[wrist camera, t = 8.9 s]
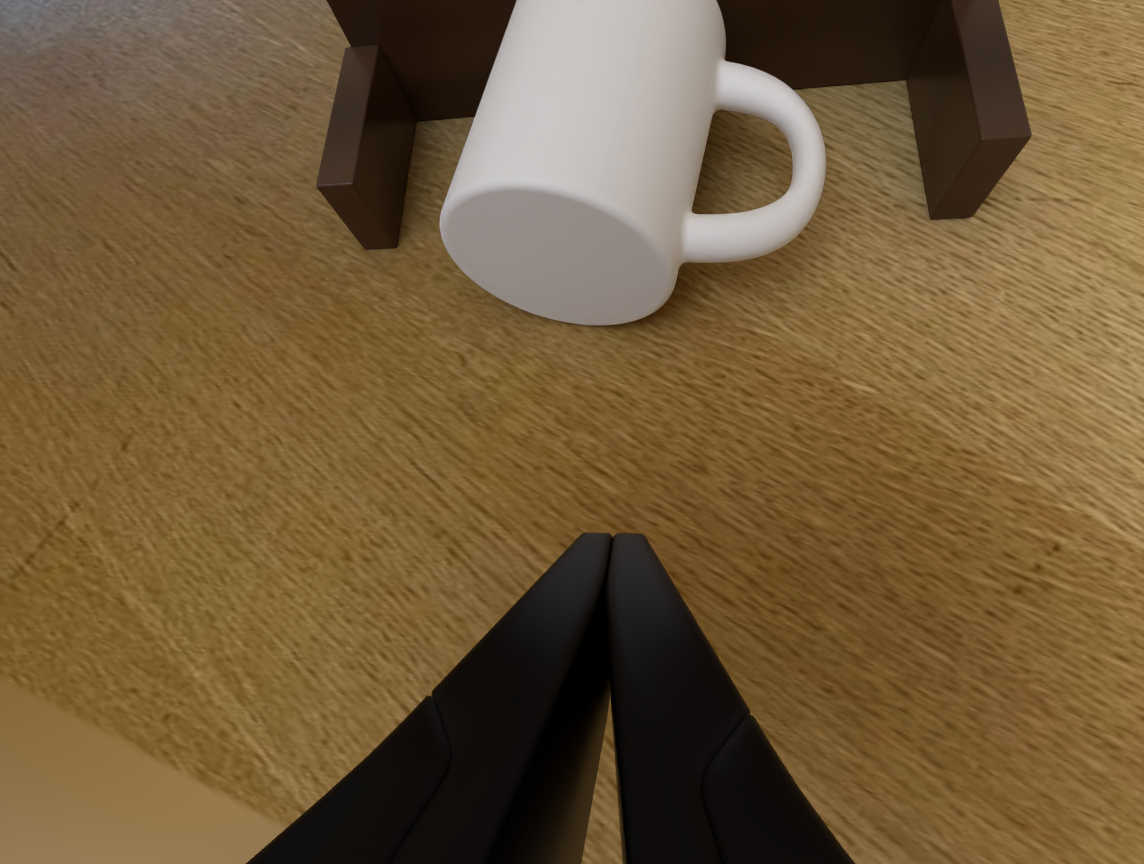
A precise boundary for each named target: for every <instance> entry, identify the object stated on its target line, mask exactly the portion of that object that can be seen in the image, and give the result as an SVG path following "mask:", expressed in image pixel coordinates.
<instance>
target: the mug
mask: <svg viewBox="0 0 1144 864" xmlns="http://www.w3.org/2000/svg"><path fill="white" fill-rule="evenodd" d="M725 52H726V35H725V27H724V21H723V18H722V14H721V11H720V8H719V6H718V3H717V1H716V0H517V1H516V4H515V7H514V9H513V12H512V15H511V18H510V20H509V23H508V26H507V29H506V32H505V34H504V37H503V40H502V43H501V46H500V48H499V51H498V54H497V57H496V60H495V62H494V65H493V68H492V71H491V73H490V76H489V79H488V82H487V85H486V87H485V90H484V93H483V96H482V99H481V101H480V104H479V107H478V110H477V113H476V115H475V118H474V121H473V124H472V126H471V129H470V132H469V135H468V138H467V140H466V143H465V146H464V149H463V152H462V154H461V157H460V160H459V163H458V166H457V168H456V171H455V174H454V177H453V179H452V182H451V185H450V188H449V191H448V193H447V196H446V199H445V202H444V205H443V207H442V211H441V214H440V232H441V237H442V240H443V243H444V245H445V247H446V250H447V251H448V253H449V255H450V256H451V258H452V259H453V260H454V262H455V263H456V264H457V266H458V267H459V268H460V269H461V270H462V271H463V272H464V273H465V274H466V275H467V276H468V277H469V278H470V279H471V280H473V281H474V282H475V283H476V284H478V285H479V286H480V287H482V288H483V289H484V290H486V291H487V292H489V293H491V294H492V295H494V296H495V297H497V298H499V299H501V300H503V301H505V302H506V303H508V304H511V305H513V306H515V307H517V308H519V309H522V310H524V311H527V312H530V313H532V314H535V315H538V316H541V317H545V318H548V319H552V320H557V321H561V322H566V323H573V324H581V325H599V326H602V325H616V324H623V323H628V322H632V321H635V320H639V319H641V318H644V317H646V316H648V315H650V314H652V313H653V312H655V311H656V310H658V309H659V308H660V307H661V306H663V305H664V304H665V302H666V301H667V300H668V299H669V297H670V296H671V294H672V292H673V290H674V287H675V283H676V279H677V275H678V270H679V267H680V266H681V265H682V264H683V263H686V262H694V263H722V262H735V261H742V260H748V259H753V258H756V257H760V256H763V255H766V254H769V253H771V252H773V251H776V250H777V249H779V248H781V247H783V246H784V245H786V244H787V243H789V242H790V241H792V240H793V239H794V238H795V237H796V236H797V235H798V234H799V233H800V232H801V231H802V230H803V229H804V228H805V226H806V225H807V224H808V222H809V221H810V219H811V218H812V216H813V214H814V212H815V210H816V208H817V206H818V203H819V200H820V197H821V194H822V191H823V186H824V181H825V173H826V154H825V146H824V141H823V137H822V133H821V131H820V128H819V125H818V123H817V121H816V119H815V117H814V115H813V114H812V112H811V110H810V109H809V107H808V106H807V105H806V103H805V102H804V101H803V100H802V99H801V97H800V96H799V95H798V94H797V93H796V92H795V91H794V90H793V89H791V88H790V87H789V86H788V85H786V84H785V83H784V82H782V81H781V80H779V79H777V78H776V77H774V76H772V75H770V74H768V73H766V72H763V71H761V70H758V69H755V68H753V67H749V66H746V65H742V64H738V63H732V62H727V61H725ZM717 110H727V111H734V112H739V113H744V114H748V115H752V116H756V117H759V118H761V119H764V120H766V121H768V122H770V123H772V124H773V125H775V126H776V127H777V128H778V129H779V130H780V131H781V132H782V133H783V134H784V136H785V137H786V139H787V141H788V143H789V146H790V149H791V153H792V161H793V174H792V181H791V185H790V188H789V190H788V191H787V192H786V194H785V195H784V196H782V197H781V198H780V199H778V200H777V201H775V202H773V203H771V204H769V205H767V206H764V207H761V208H758V209H755V210H750V211H745V212H739V213H729V214H695V213H693V212H692V206H693V202H694V197H695V193H696V188H697V183H698V179H699V174H700V170H701V165H702V161H703V156H704V152H705V147H706V142H707V138H708V133H709V129H710V124H711V120H712V116H713V114H714V113H715V112H716V111H717Z"/></svg>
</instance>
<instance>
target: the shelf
mask: <svg viewBox="0 0 1144 864" xmlns="http://www.w3.org/2000/svg"><path fill="white" fill-rule="evenodd" d="M516 1H517V0H327V2H328V4H329V6H330V8H331V9H332V11H333V13H334V15H335V17H336V19H337V21H338V23H339V25H340V26H341V28H342V30H343V32H344V34H345V36H346V38H347V40H348V42H349V43H350V45H351V47H348V48H345V52H344V57H343V62H342V66H341V71H340V76H339V80H338V85H337V90H336V95H335V99H334V104H333V109H332V113H331V118H330V123H329V127H328V132H327V137H326V142H325V146H324V151H323V156H322V160H321V165H320V170H319V174H318V179H317V184H316V186H317V188H318V189H319V191H320V192H321V193H322V195H323V196H324V197H325V198H326V200H327V201H328V202H329V204H330V205H331V206H332V207H333V209H334V210H335V211H336V213H337V214H338V215H339V217H340V218H341V219H342V220H343V222H344V223H345V224H346V226H347V227H348V228H349V230H350V231H351V232H352V233H353V235H354V236H355V237H356V239H357V240H358V241H359V242H360V244H361V245H362V246H363V248H364V249H379V248H395V247H396V245H397V238H398V232H399V226H400V219H401V213H402V206H403V200H404V194H405V187H406V181H407V174H408V168H409V161H410V155H411V149H412V142H413V136H414V129H415V123H416V121H422V120H433V119H445V118H457V117H469V116H475V115H476V113H477V110H478V107H479V104H480V101H481V99H482V96H483V93H484V90H485V87H486V85H487V82H488V79H489V76H490V73H491V71H492V68H493V65H494V62H495V60H496V57H497V54H498V51H499V48H500V46H501V43H502V40H503V37H504V34H505V32H506V29H507V26H508V23H509V20H510V18H511V15H512V12H513V9H514V7H515V4H516ZM716 1H717V3H718V6H719V8H720V11H721V14H722V18H723V21H724V27H725V35H726V52H725V61H727V62H732V63H738V64H742V65H746V66H749V67H753V68H755V69H758V70H761V71H763V72H766V73H768V74H770V75H772V76H774V77H776V78H777V79H779V80H781V81H782V82H784V83H785V84H786V85H788V86H789V87H790V88H791V89H798V88H810V87H821V86H833V85H845V84H857V83H868V82H880V81H892V80H904V79H907V86H908V92H909V97H910V103H911V109H912V115H913V120H914V126H915V132H916V138H917V144H918V149H919V155H920V161H921V167H922V172H923V178H924V184H925V190H926V196H927V201H928V207H929V213H930V218H931V219H945V218H964V217H972V216H973V215H974V214H975V212H976V211H977V210H978V208H979V207H980V206H981V204H982V203H983V201H984V200H985V199H986V197H987V196H988V195H989V193H990V192H991V191H992V189H993V188H994V187H995V185H996V184H997V183H998V181H999V180H1000V178H1001V177H1002V176H1003V174H1004V173H1005V172H1006V170H1007V169H1008V168H1009V166H1010V165H1011V164H1012V162H1013V161H1014V160H1015V158H1016V157H1017V155H1018V154H1019V153H1020V151H1021V150H1022V149H1023V147H1024V146H1025V145H1026V143H1027V142H1028V141H1029V139H1030V138H1031V135H1032V134H1031V130H1030V126H1029V122H1028V118H1027V114H1026V110H1025V106H1024V102H1023V98H1022V93H1021V89H1020V85H1019V81H1018V77H1017V73H1016V69H1015V65H1014V61H1013V57H1012V53H1011V49H1010V45H1009V41H1008V37H1007V33H1006V29H1005V25H1004V21H1003V17H1002V13H1001V9H1000V5H999V1H998V0H716Z"/></svg>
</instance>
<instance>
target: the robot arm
mask: <svg viewBox="0 0 1144 864" xmlns="http://www.w3.org/2000/svg"><path fill="white" fill-rule="evenodd" d="M610 693H611V710H612V725H613V738H614V752H615V766H616V779H617V793H618V806H619V820H620V834H621V847H622V861H623V864H855V863H854V861H853V860H852V859H851V858H850V856H849V855H848V854H847V852H846V851H845V850H844V848H843V847H842V846H841V845H840V843H839V842H838V841H837V839H836V838H835V837H834V835H833V834H832V832H831V831H830V830H829V828H828V827H827V826H826V824H825V823H824V821H823V820H822V819H821V817H820V816H819V815H818V813H817V812H816V811H815V809H814V808H813V806H812V805H811V804H810V802H809V801H808V800H807V798H806V797H805V796H804V794H803V793H802V791H801V790H800V789H799V787H798V785H797V784H796V782H795V781H794V779H793V778H792V776H791V775H790V773H789V772H788V770H787V769H786V767H785V765H784V764H783V762H782V761H781V759H780V758H779V756H778V755H777V753H776V752H775V750H774V748H773V747H772V745H771V744H770V742H769V740H768V739H767V737H766V735H765V734H764V732H763V730H762V729H761V727H760V725H759V724H758V722H757V720H756V719H755V717H754V716H752V715H750V709H749V708H748V706H747V704H746V703H745V701H744V700H743V698H742V696H741V695H740V693H739V691H738V690H737V688H736V686H735V685H734V683H733V681H732V680H731V678H730V676H729V675H728V673H727V671H726V670H725V668H724V666H723V665H722V663H721V661H720V660H719V658H718V656H717V655H716V653H715V651H714V650H713V648H712V646H711V645H710V643H709V641H708V640H707V638H706V636H705V635H704V633H703V631H702V630H701V628H700V626H699V625H698V623H697V621H696V620H695V618H694V616H693V615H692V613H691V611H690V610H689V608H688V607H687V605H686V603H685V602H684V600H683V598H682V597H681V595H680V593H679V592H678V590H677V588H676V587H675V585H674V583H673V582H672V580H671V578H670V577H669V575H668V573H667V572H666V570H665V568H664V567H663V565H662V563H661V562H660V560H659V558H658V557H657V555H656V553H655V552H654V550H653V548H652V547H651V545H650V543H649V542H648V540H647V538H646V537H645V536H644V535H643V534H637V533H617V534H616V535H614V537H612V535H611V534H610V533H583V534H581V535H580V536H579V537H578V538H577V539H576V540H575V541H574V542H573V544H572V545H571V546H570V547H569V548H568V549H567V550H566V551H565V552H564V553H563V554H562V555H561V556H560V557H559V558H558V559H557V560H556V561H555V562H554V563H553V565H552V566H551V567H550V568H549V569H548V570H547V571H546V572H545V573H544V574H543V575H542V576H541V577H540V578H539V579H538V580H537V581H536V582H535V583H534V584H533V586H532V587H531V588H530V589H529V590H528V591H527V592H526V593H525V594H524V595H523V596H522V597H521V598H520V599H519V600H518V601H517V602H516V603H515V604H514V605H513V607H512V608H511V609H510V610H509V611H508V612H507V613H506V614H505V615H504V616H503V617H502V618H501V619H500V620H499V621H498V622H497V623H496V624H495V625H494V626H493V628H492V629H491V630H490V631H489V632H488V633H487V634H486V635H485V636H484V637H483V638H482V639H481V640H480V641H479V642H478V643H477V644H476V645H475V646H474V647H473V649H472V650H471V651H470V652H469V653H468V654H467V655H466V656H465V657H464V658H463V659H462V660H461V661H460V662H459V663H458V664H457V665H456V666H455V667H454V668H453V670H452V671H451V672H450V673H449V674H448V675H447V676H446V677H445V678H444V679H443V680H442V681H441V682H440V683H439V684H438V685H437V686H436V687H435V688H434V689H433V691H432V696H427V697H426V698H425V699H424V700H423V701H422V702H421V703H420V704H419V705H418V706H417V707H416V708H415V709H414V710H413V711H412V712H411V713H410V714H409V715H408V716H407V717H406V719H405V720H404V721H403V722H401V723H400V724H399V725H398V726H397V727H396V728H395V729H394V730H393V731H392V732H391V733H390V734H389V735H388V736H387V737H386V738H385V739H384V740H383V741H382V742H381V743H380V744H379V745H378V746H377V747H376V748H375V749H374V750H373V751H372V752H371V753H370V754H369V755H368V756H367V757H366V758H365V759H364V760H363V761H362V762H361V763H359V764H358V765H357V766H356V767H355V768H354V769H353V770H352V771H351V772H350V773H348V774H347V775H346V776H345V777H344V778H343V779H342V780H341V781H340V782H339V783H337V784H336V785H335V786H334V787H333V788H332V789H331V790H330V791H329V792H328V793H326V794H325V795H324V796H323V797H322V798H321V799H320V800H318V801H317V802H316V803H315V804H314V805H313V806H312V807H310V808H309V809H308V810H307V811H306V812H305V813H304V814H302V815H301V816H300V817H299V818H298V819H297V820H296V821H294V822H293V823H292V824H291V825H290V826H289V827H287V828H286V829H285V830H284V831H283V832H282V833H281V834H279V835H278V836H277V837H276V838H275V839H274V840H273V841H271V843H269V844H268V845H267V846H266V847H265V848H264V849H262V850H261V851H260V852H259V853H258V854H256V855H255V856H254V857H253V858H252V859H251V860H250V861H248V862H247V863H246V864H581V861H582V856H583V850H584V844H585V839H586V833H587V828H588V822H589V816H590V811H591V805H592V799H593V794H594V788H595V783H596V777H597V771H598V766H599V760H600V754H601V749H602V743H603V738H604V732H605V726H606V721H607V714H608V708H609V701H610Z"/></svg>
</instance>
